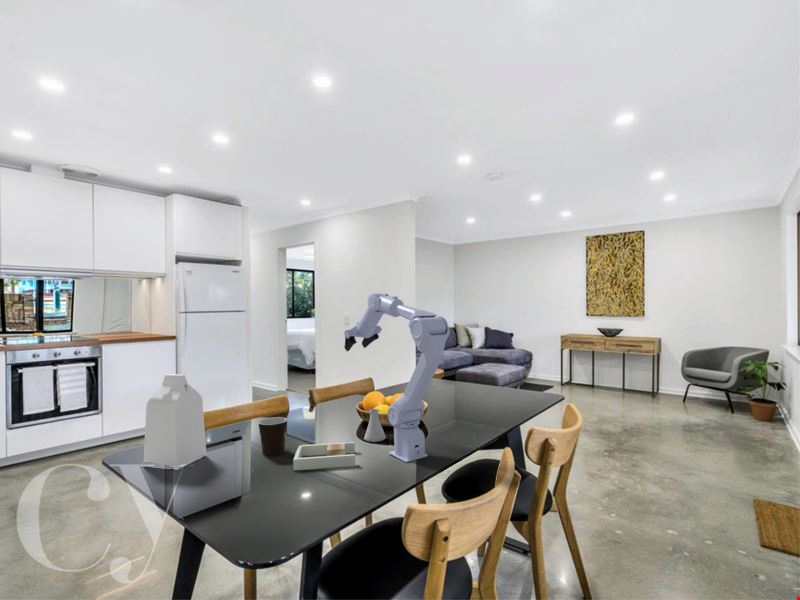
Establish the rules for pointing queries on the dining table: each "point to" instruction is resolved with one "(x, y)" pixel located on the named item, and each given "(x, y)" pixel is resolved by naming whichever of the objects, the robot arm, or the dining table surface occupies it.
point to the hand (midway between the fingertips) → (355, 347)
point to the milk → (174, 423)
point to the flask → (374, 428)
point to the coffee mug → (273, 435)
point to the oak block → (335, 449)
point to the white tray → (323, 457)
